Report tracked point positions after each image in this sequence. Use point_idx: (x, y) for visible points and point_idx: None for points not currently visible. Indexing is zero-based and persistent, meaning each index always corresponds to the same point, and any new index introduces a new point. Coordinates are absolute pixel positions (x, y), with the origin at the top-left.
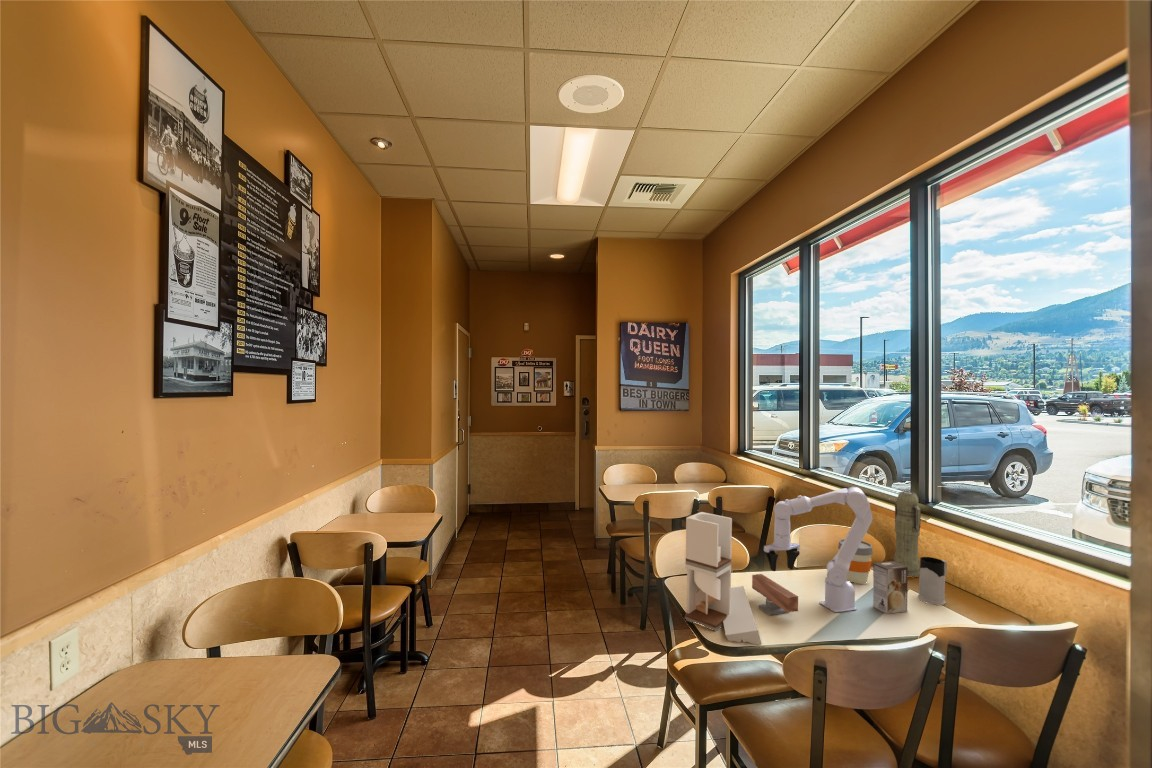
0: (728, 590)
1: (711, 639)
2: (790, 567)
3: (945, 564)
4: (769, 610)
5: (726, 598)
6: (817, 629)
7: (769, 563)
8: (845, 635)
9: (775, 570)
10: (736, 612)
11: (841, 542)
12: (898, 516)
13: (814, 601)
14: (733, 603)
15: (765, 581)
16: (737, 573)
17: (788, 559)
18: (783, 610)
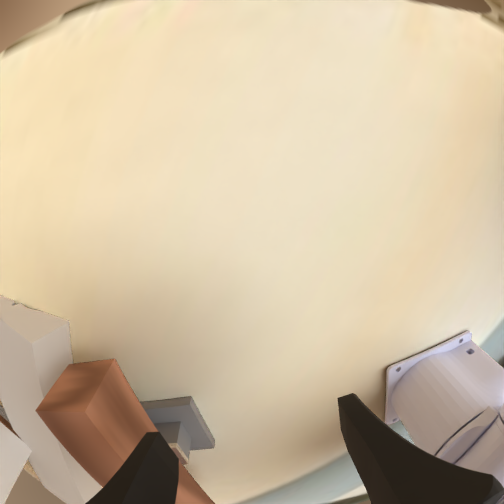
0: (4, 494)
1: (26, 470)
2: (344, 433)
3: None
4: None
5: (8, 473)
6: (259, 492)
7: (123, 469)
8: (314, 498)
9: (177, 465)
10: (43, 460)
11: None
12: None
13: (380, 351)
14: (26, 424)
15: (104, 479)
16: (117, 9)
17: (369, 461)
18: (190, 449)
